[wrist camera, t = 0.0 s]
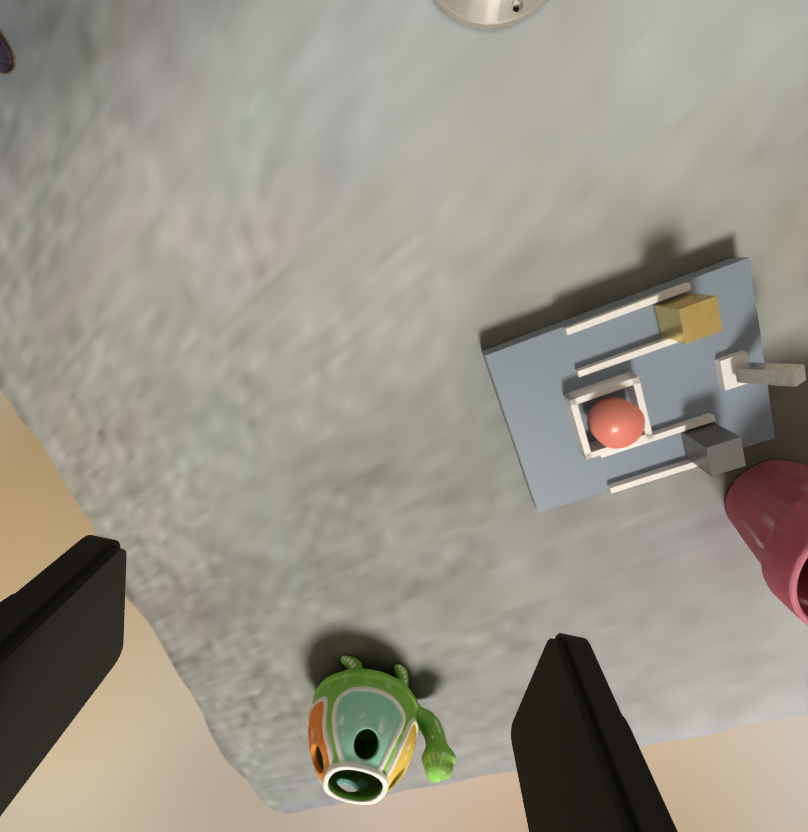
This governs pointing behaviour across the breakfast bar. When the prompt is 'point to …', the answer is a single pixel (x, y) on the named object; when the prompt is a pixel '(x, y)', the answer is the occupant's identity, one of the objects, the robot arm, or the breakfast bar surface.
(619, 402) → the button
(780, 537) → the plant pot
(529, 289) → the breakfast bar surface
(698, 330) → the slider brass
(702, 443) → the slider gray
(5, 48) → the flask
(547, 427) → the panel
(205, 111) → the breakfast bar surface
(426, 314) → the breakfast bar surface
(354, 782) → the turtle holder
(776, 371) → the toggle
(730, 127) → the breakfast bar surface
